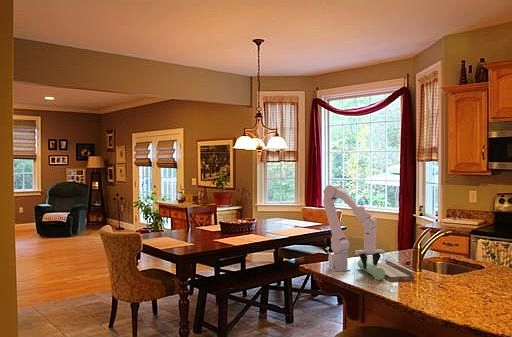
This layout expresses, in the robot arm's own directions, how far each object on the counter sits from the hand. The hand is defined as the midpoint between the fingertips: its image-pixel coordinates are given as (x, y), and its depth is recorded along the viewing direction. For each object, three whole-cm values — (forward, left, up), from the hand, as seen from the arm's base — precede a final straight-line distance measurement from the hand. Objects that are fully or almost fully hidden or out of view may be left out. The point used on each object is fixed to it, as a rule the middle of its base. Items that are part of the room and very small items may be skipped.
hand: (369, 268), depth 222 cm
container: (0, 0, -2) cm, 2 cm away
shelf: (+10, 0, -3) cm, 10 cm away
